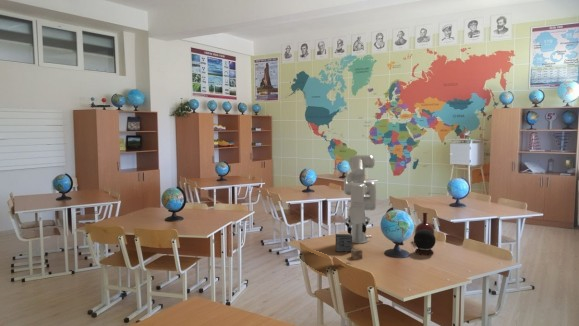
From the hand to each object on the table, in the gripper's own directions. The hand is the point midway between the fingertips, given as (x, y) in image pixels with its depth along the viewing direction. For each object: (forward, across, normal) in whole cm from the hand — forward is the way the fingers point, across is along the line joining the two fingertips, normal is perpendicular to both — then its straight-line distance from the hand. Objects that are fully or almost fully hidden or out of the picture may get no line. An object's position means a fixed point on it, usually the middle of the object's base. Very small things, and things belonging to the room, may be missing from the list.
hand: (356, 232), depth 252 cm
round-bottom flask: (+15, -62, -19) cm, 67 cm away
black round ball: (+15, -45, +4) cm, 48 cm away
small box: (+15, +1, -17) cm, 23 cm away
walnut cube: (+16, 0, -1) cm, 16 cm away
